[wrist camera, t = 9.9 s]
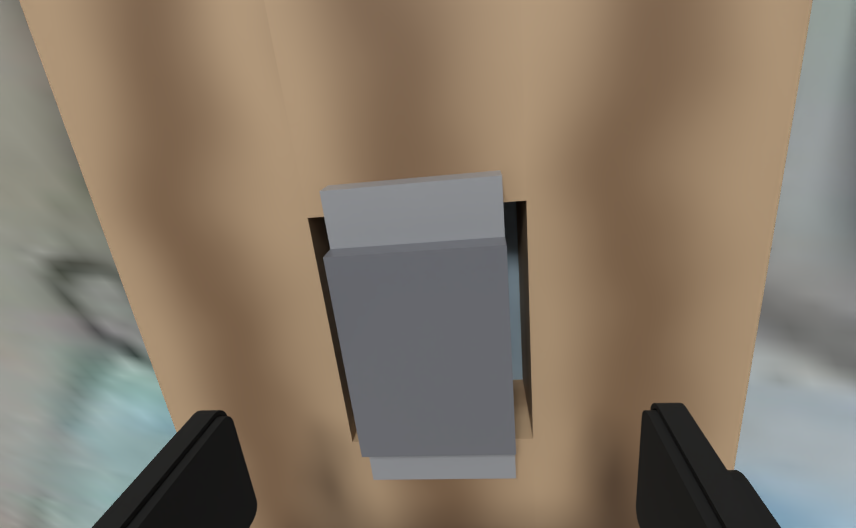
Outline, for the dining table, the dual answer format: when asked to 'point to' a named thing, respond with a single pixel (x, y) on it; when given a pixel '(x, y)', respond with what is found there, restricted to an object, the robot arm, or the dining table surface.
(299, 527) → the wooden board
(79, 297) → the dining table surface
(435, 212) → the flanged block
